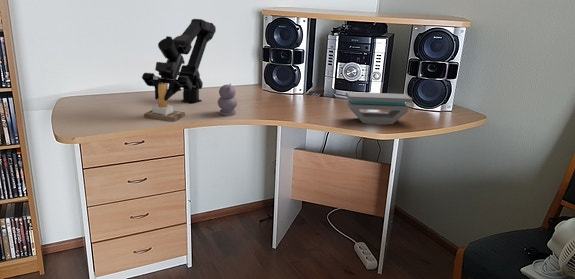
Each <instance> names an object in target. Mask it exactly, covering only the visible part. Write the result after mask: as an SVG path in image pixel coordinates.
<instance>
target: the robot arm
mask: <svg viewBox="0 0 575 279" xmlns="http://www.w3.org/2000/svg"><path fill="white" fill-rule="evenodd" d="M216 29H217V28H216V26H215V24H214V23H213V22H209V21H206V20H204V19H202V18H193V19H191V20H190V23H189V25H187V27H186V28H185V30H184V31H183V33H181V34H180V35H177V36H175V37H174V38H173V37H172V36H168V35H166V37H165V38H163V39H161V40H160V41H159V42H158V44H157V47H158V49H159V51H160V52H161V54H162V56H163V57H164V58H165V59H166V62H163V61H162V62H161V61H156V62H155V68H154V71H156V72H158V75H155V73H154V72H153V73H152V72H143V74H142V76H141V79H142V80H143V82H144V83H145V84H146V86H148V87H154V98H155V100H156V101H157V100H158V84H160V83H165V84H168V90H167V93H166V95H165V99H164V100H165V101H167V100H168V101H169V99H171V97H173V95H175V94H177V93H178V92H180V91H182V88H183V91H182V99H181V100H180V101H181V102H184V103H188V104H191V105H192V104H196V103H199V102H202V99H200V90H202V89H203V86H204V85H203V84H204V83H203V81H202V79H201V78H200V76H201V75H200V72H199V69H200V65H201V62H202V59H203V56H204V52H205V50H206V46H207V44H208V43H209V41H211V40H212V39H213V38H214V35H215V34H216V32H217V30H216ZM195 38H196V39H195ZM194 40H195V42H194V45H193V48H192V43H193V41H194ZM191 50H192V51H191ZM190 52H191V53H190ZM189 53H190V56H189V59H188V62H187V64H185V63H186V62H185V60H184V56H183V55H188V54H189Z"/></svg>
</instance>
